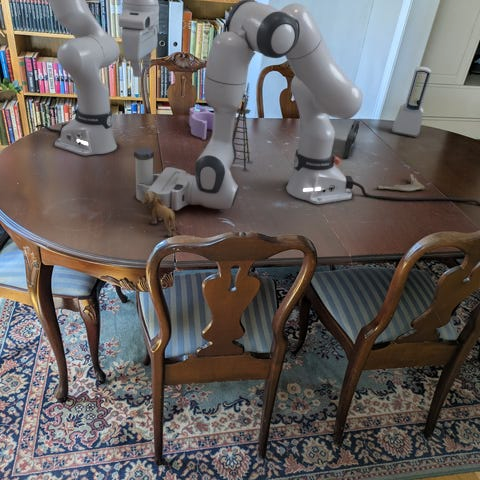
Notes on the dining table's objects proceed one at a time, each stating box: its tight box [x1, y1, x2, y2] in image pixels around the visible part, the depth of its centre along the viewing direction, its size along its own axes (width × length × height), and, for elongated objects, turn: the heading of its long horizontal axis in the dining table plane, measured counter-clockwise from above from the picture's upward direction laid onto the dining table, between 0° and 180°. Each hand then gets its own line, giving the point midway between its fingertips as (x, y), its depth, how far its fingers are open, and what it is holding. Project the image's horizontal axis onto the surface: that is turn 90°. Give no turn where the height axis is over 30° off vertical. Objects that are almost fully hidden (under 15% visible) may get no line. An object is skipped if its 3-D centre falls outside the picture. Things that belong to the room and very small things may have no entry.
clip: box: [188, 106, 214, 140], centre depth 199 cm, size 20×12×7 cm, turn 23°
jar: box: [134, 157, 154, 202], centre depth 142 cm, size 5×5×15 cm
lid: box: [133, 146, 155, 160], centre depth 138 cm, size 6×6×2 cm
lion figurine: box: [140, 191, 182, 237], centre depth 130 cm, size 15×5×9 cm, turn 50°
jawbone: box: [376, 173, 426, 193], centre depth 169 cm, size 9×20×2 cm, turn 126°
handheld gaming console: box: [342, 119, 361, 159], centre depth 194 cm, size 23×3×10 cm, turn 161°
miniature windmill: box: [233, 82, 252, 171], centre depth 166 cm, size 9×8×30 cm
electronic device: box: [391, 66, 432, 138], centre depth 214 cm, size 12×8×30 cm, turn 71°
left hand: (142, 72), depth 126 cm, fingers open, 8 cm apart
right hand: (141, 181), depth 143 cm, fingers closed on jar, 5 cm apart
